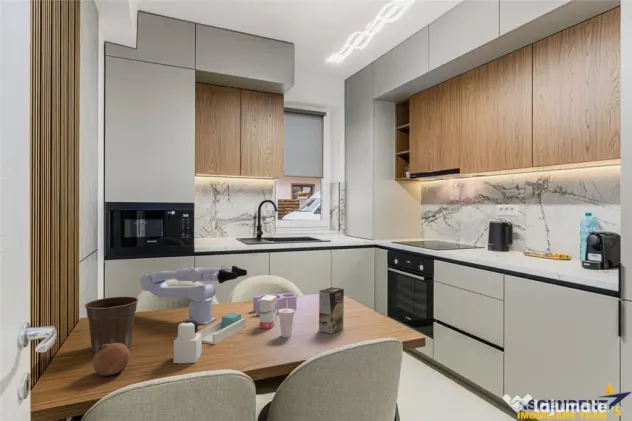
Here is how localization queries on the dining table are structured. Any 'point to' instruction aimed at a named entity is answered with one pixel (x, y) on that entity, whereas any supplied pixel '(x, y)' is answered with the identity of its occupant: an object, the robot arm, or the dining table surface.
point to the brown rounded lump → (111, 359)
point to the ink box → (268, 311)
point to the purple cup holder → (280, 301)
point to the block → (230, 319)
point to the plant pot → (111, 321)
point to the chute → (220, 331)
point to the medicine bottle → (187, 343)
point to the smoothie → (286, 320)
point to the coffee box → (331, 309)
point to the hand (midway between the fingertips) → (241, 274)
